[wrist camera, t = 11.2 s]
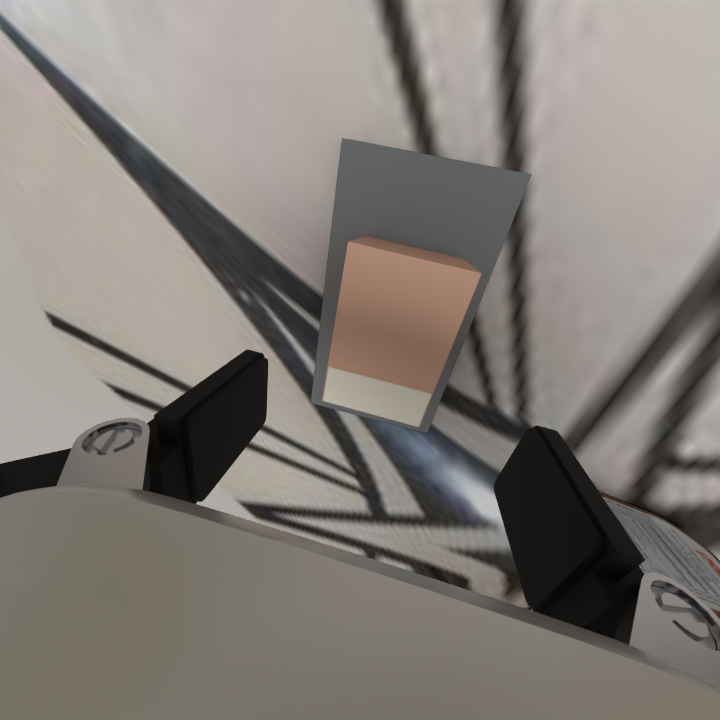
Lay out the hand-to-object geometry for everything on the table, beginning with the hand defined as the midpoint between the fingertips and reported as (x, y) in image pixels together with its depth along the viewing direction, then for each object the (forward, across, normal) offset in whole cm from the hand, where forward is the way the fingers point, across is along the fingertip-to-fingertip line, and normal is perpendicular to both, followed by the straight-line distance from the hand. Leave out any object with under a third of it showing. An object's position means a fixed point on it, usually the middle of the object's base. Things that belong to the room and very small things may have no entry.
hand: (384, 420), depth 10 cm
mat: (+11, +1, -1) cm, 11 cm away
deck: (+10, +1, -1) cm, 10 cm away
